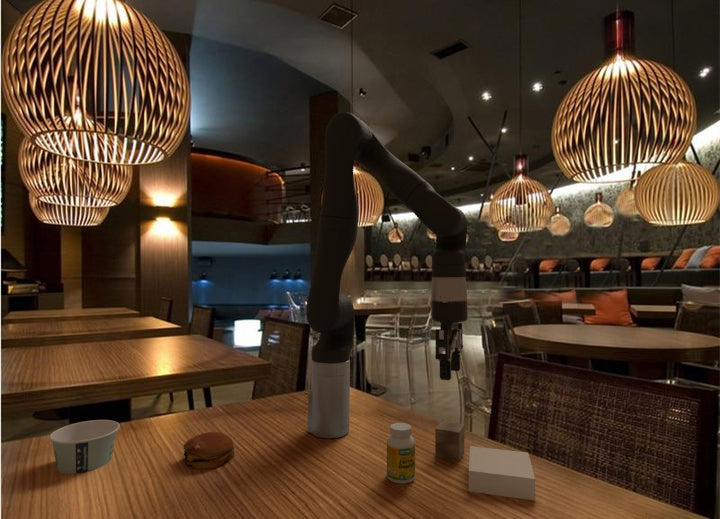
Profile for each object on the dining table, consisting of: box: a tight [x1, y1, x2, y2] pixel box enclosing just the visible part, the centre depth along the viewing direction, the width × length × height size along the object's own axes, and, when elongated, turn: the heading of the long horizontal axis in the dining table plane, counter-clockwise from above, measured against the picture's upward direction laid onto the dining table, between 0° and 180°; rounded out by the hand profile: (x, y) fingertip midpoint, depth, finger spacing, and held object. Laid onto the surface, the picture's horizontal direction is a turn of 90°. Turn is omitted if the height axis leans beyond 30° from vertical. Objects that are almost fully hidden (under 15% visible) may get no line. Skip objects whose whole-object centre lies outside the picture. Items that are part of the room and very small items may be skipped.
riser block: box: [468, 445, 536, 501], centre depth 81 cm, size 11×11×4 cm
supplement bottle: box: [386, 422, 416, 485], centre depth 82 cm, size 5×5×10 cm
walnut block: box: [434, 420, 465, 463], centre depth 92 cm, size 5×5×6 cm
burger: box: [182, 431, 235, 470], centre depth 89 cm, size 10×9×5 cm
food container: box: [48, 419, 121, 475], centre depth 87 cm, size 12×12×7 cm
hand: (450, 374), depth 92 cm, fingers open, 8 cm apart
